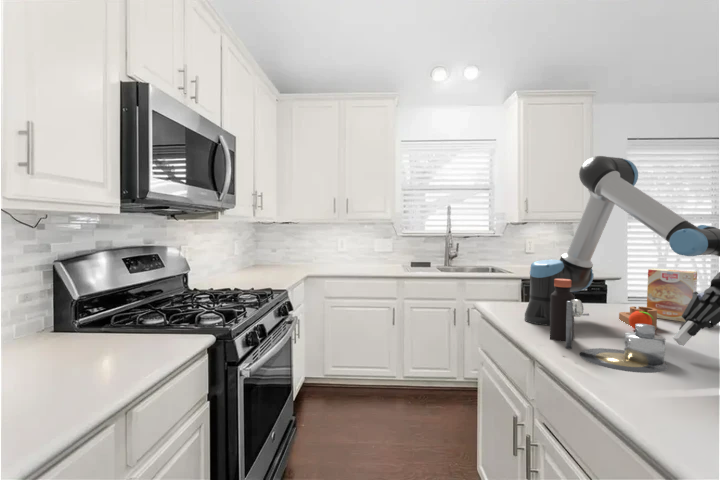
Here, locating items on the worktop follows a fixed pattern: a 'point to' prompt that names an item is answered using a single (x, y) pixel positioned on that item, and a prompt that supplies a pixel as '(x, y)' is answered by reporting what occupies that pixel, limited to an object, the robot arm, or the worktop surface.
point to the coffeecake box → (670, 292)
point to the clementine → (640, 318)
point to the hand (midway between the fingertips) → (678, 341)
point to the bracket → (653, 312)
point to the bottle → (560, 309)
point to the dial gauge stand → (574, 310)
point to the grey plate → (619, 361)
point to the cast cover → (644, 345)
